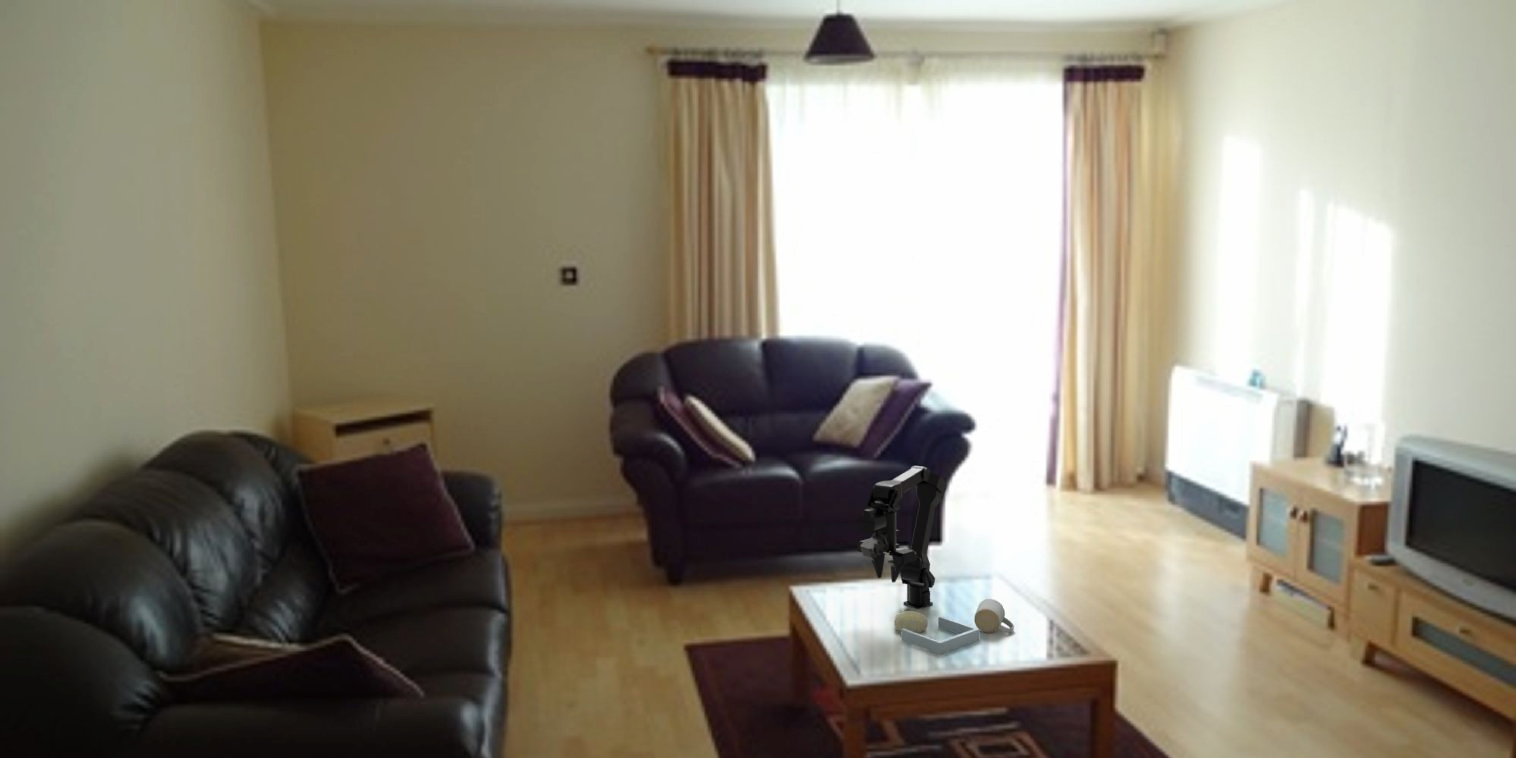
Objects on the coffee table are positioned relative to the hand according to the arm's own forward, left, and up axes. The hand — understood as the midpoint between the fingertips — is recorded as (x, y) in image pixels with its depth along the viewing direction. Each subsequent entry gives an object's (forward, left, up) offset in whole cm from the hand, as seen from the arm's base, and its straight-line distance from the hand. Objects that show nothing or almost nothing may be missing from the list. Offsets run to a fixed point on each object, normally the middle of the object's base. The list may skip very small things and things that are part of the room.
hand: (886, 580), depth 304 cm
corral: (+20, 0, -12) cm, 23 cm away
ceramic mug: (+25, +17, -12) cm, 33 cm away
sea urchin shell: (+10, 0, -12) cm, 16 cm away
